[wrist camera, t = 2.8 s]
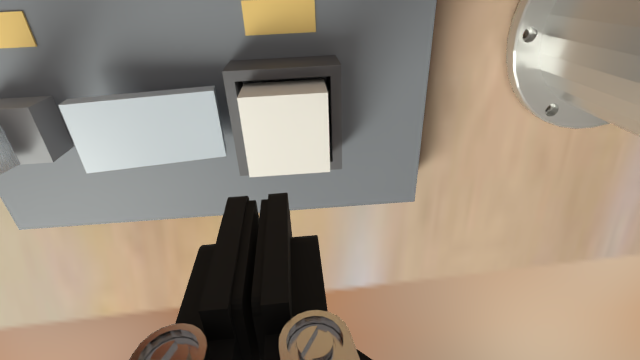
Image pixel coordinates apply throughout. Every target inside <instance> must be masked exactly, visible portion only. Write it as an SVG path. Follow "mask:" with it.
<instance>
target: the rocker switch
mask: <svg viewBox="0 0 640 360" xmlns="http://www.w3.org/2000/svg"><path fill="white" fill-rule="evenodd" d="M58 106H59V108H60V111H61V113H62V115H63V118H64V120H65V123H66V125H67V127H68V130H69V132H70V135H71V137H72V139H73V142H74V144H75V147H76V149H77V151H78V154H79V156H80V159H81V161H82V163H83V166H84V168H85V171H86V173H95V172H103V171H111V170H120V169H128V168H136V167H144V166H152V165H160V164H168V163H176V162H184V161H193V160H201V159H209V158H217V157H225V156H226V150H227V149H226V143H225V138H224V133H223V127H222V122H221V117H220V111H219V106H218V101H217V95H216V90H215V86H204V87H193V88H182V89H171V90H160V91H149V92H138V93H127V94H117V95H106V96H95V97H84V98H73V99H66V100H65V101H63V102H62V103H61V104H59V105H58Z"/></svg>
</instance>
